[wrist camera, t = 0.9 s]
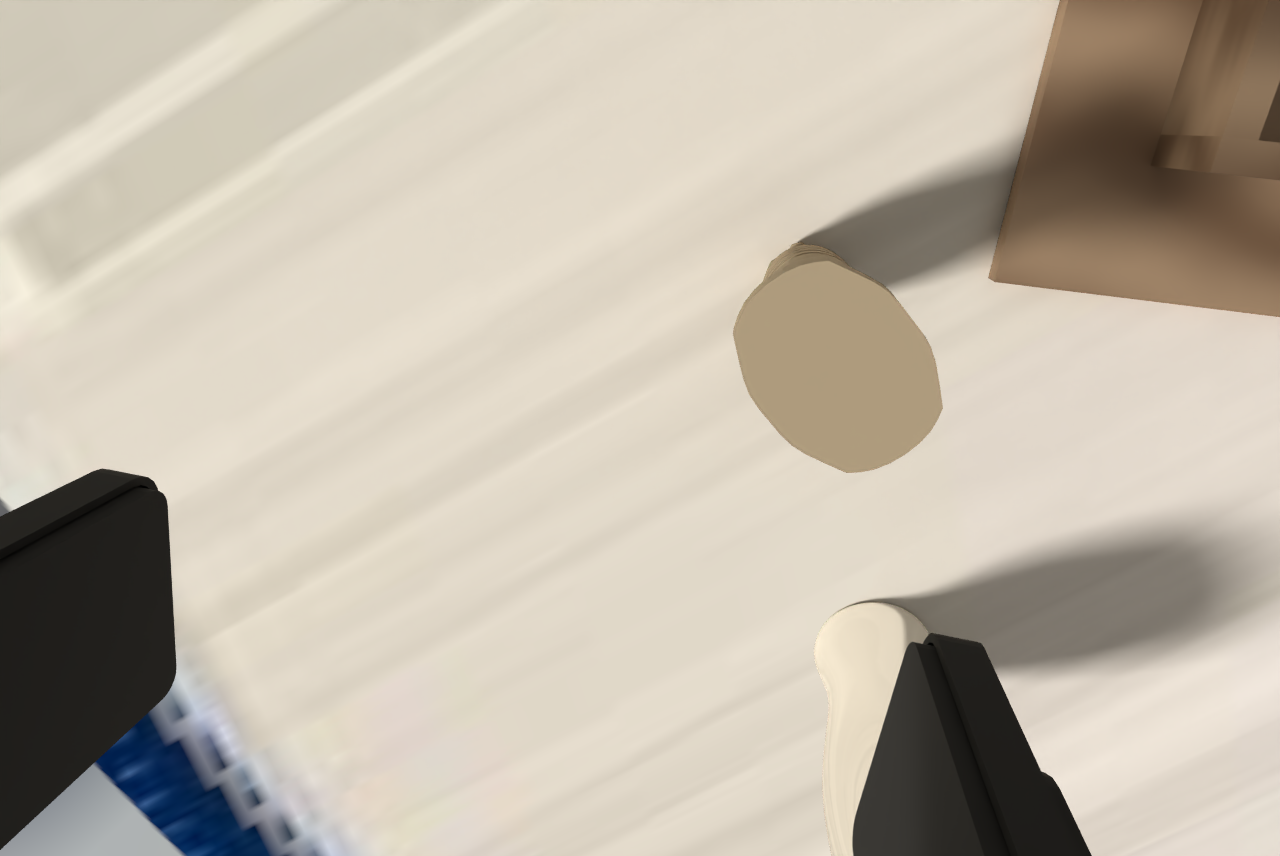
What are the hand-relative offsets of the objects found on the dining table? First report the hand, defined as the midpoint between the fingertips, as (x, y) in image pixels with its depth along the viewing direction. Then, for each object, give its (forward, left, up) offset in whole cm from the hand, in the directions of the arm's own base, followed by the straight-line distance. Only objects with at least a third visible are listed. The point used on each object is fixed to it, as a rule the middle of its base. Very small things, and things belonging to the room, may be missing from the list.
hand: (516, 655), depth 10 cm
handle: (0, +5, -30) cm, 30 cm away
